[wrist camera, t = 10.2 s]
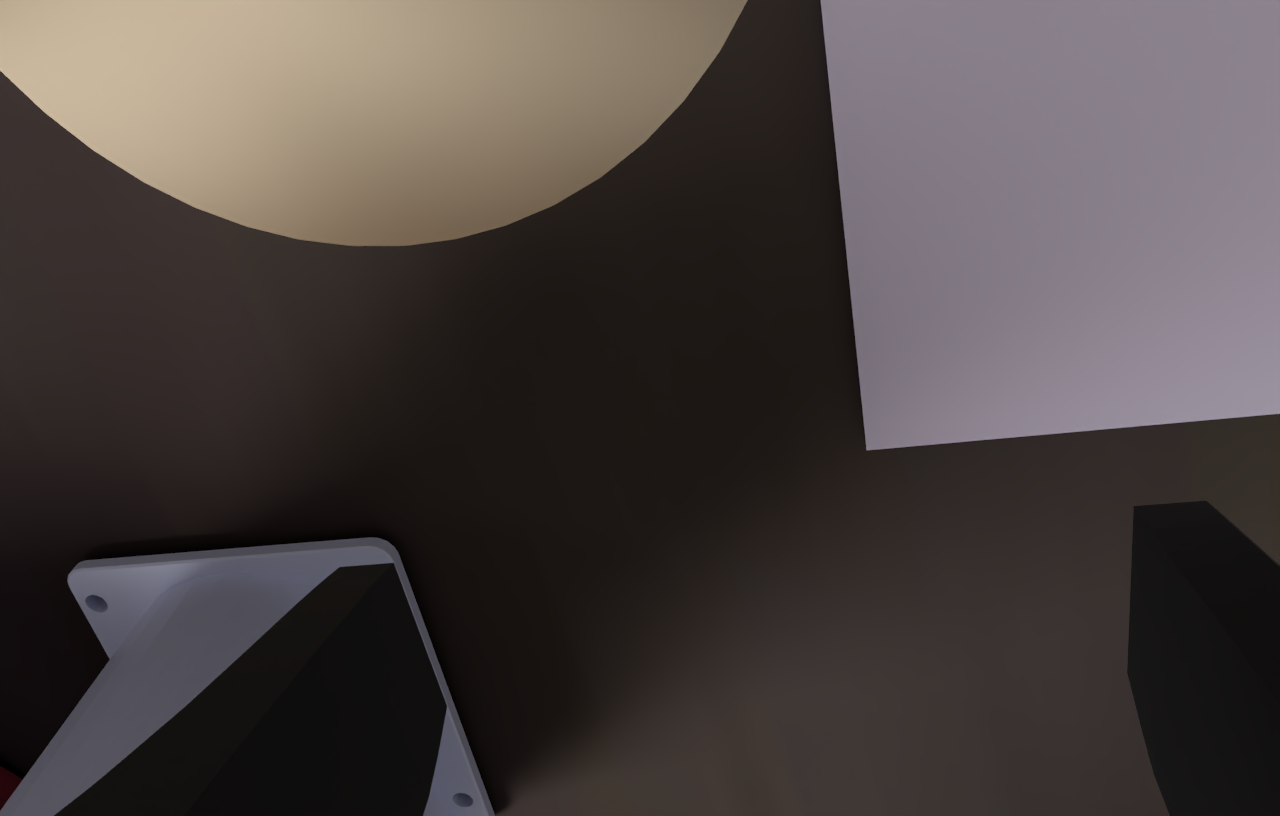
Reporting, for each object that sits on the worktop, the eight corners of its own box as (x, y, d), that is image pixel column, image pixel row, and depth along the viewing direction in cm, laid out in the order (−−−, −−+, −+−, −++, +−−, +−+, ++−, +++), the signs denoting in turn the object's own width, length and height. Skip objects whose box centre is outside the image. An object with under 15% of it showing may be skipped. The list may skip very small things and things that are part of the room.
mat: (1536, 377, 20) (1549, 389, 20) (865, 438, 22) (866, 450, 22) (1729, -425, 14) (1752, -428, 14) (796, -231, 16) (796, -230, 16)
